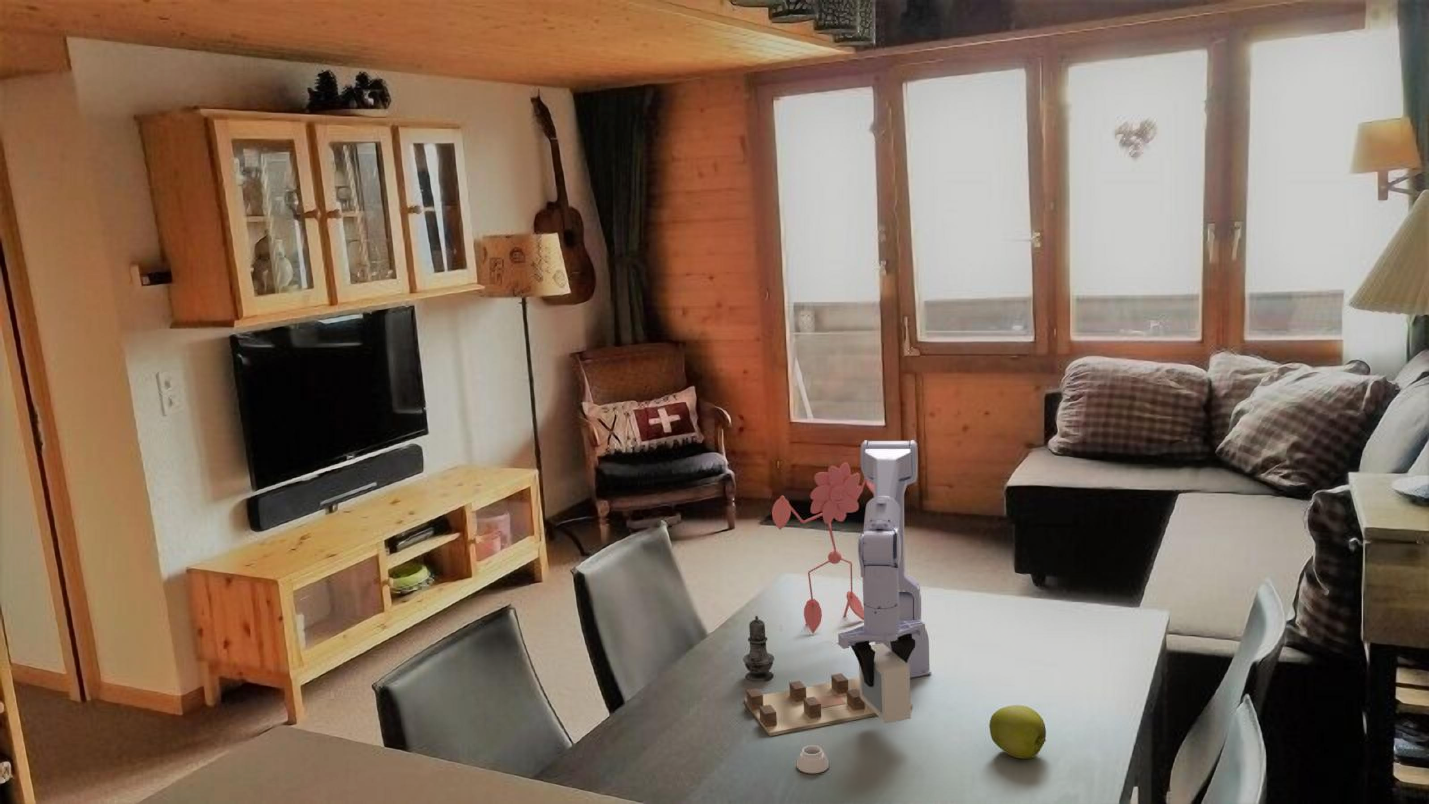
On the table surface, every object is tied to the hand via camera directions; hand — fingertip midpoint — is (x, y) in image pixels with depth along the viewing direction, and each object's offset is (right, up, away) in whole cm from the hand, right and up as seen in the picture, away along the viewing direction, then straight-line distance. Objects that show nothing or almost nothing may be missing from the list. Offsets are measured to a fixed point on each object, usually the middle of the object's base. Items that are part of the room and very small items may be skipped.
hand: (883, 681), depth 180 cm
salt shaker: (-19, -6, +26) cm, 33 cm away
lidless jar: (-12, -12, -8) cm, 19 cm away
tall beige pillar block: (0, -5, +1) cm, 5 cm away
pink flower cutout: (-1, -1, +46) cm, 46 cm away
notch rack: (-8, -7, +12) cm, 16 cm away
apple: (+20, -10, -8) cm, 24 cm away
